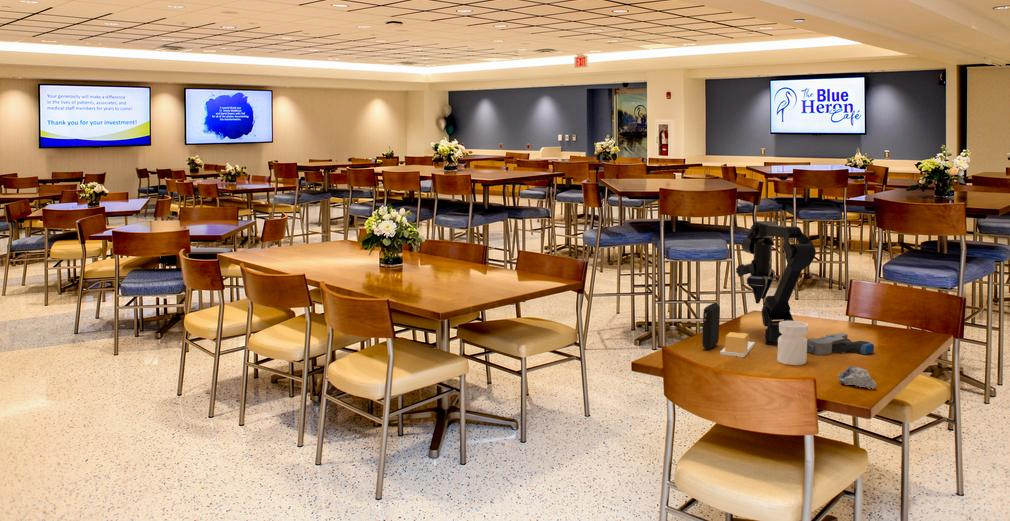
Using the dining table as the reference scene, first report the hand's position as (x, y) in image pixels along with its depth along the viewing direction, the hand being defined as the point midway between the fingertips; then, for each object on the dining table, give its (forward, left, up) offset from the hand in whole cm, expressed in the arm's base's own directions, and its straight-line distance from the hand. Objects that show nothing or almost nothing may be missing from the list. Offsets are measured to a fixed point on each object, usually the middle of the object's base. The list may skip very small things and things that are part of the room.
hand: (760, 300), depth 299 cm
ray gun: (-28, +12, -13) cm, 33 cm away
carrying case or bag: (+11, +26, -12) cm, 31 cm away
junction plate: (+2, +24, -12) cm, 27 cm away
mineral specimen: (-36, +47, -12) cm, 61 cm away
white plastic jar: (-16, +30, -12) cm, 36 cm away
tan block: (+2, +28, -11) cm, 30 cm away
